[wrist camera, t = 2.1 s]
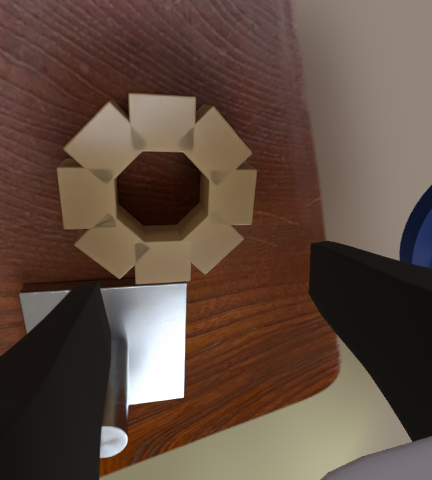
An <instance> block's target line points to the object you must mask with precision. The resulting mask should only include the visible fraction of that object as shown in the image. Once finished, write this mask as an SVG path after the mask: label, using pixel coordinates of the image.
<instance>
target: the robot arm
mask: <svg viewBox="0 0 432 480" xmlns="http://www.w3.org/2000/svg"><path fill="white" fill-rule="evenodd" d="M309 295H310V296H311V298H312V300H313V302H314V303H315V305H316V307H317V308H318V310H319V312H320V313H321V315H322V316H323V318H324V319H325V320H326V321H327V323H328V324H329V325H330V326H331V328H332V329H333V330H334V331H335V332H336V334H337V335H338V336H339V337H340V338H341V340H342V341H343V342H344V343H345V344H346V346H347V347H348V348H349V349H350V350H351V352H352V353H353V354H354V355H355V357H356V358H357V359H358V360H359V361H360V363H361V364H362V365H363V366H364V367H365V369H366V370H367V372H368V373H369V374H370V376H371V377H372V379H373V380H374V382H375V383H376V384H377V386H378V388H379V389H380V391H381V392H382V394H383V395H384V397H385V398H386V400H387V401H388V403H389V404H390V406H391V407H392V409H393V411H394V412H395V414H396V415H397V417H398V419H399V420H400V422H401V424H402V425H403V427H404V428H405V430H406V431H407V433H408V435H409V437H410V438H411V440H412V442H411V443H407V444H404V445H400V446H397V447H393V448H390V449H387V450H383V451H380V452H376V453H373V454H370V455H366V456H362V457H360V458H358V459H356V460H354V461H352V462H350V463H347V464H346V465H343V466H341V467H339V468H337V469H335V470H333V471H331V472H328V473H327V474H326V475H325V476H324V477H323V478H322V479H321V480H432V268H426V267H422V266H417V265H413V264H410V263H406V262H402V261H398V260H394V259H390V258H387V257H384V256H380V255H377V254H374V253H370V252H367V251H364V250H361V249H357V248H354V247H351V246H347V245H343V244H340V243H336V242H331V241H324V242H318V243H312V244H311V254H310V278H309ZM110 366H111V330H110V326H109V322H108V318H107V314H106V310H105V306H104V302H103V298H102V294H101V290H100V286H99V282H98V280H96V281H90V282H84V283H78V284H77V285H76V286H75V287H74V288H73V289H72V290H71V291H70V292H69V293H68V294H67V295H66V296H65V297H64V298H63V299H62V300H61V301H60V302H59V303H58V304H57V305H56V306H55V307H54V309H53V310H52V311H51V312H50V313H49V314H48V315H47V316H46V317H45V318H44V319H43V320H42V321H40V322H39V323H38V324H37V325H36V326H35V327H34V328H33V329H32V330H31V331H30V332H29V333H28V334H26V335H25V336H24V337H23V338H22V339H21V340H20V341H19V342H18V343H16V344H15V345H14V346H13V347H12V348H10V349H9V350H8V351H7V352H5V353H4V354H3V355H2V356H0V480H99V471H100V443H101V432H102V423H103V416H104V409H105V402H106V395H107V388H108V381H109V373H110Z"/></svg>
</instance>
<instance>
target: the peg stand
mask: <svg viewBox="0 0 432 480" xmlns="http://www.w3.org/2000/svg"><path fill="white" fill-rule="evenodd" d="M84 282H90V281H79V282H62V283H44V284H27V285H23V287H22V289H21V290H20V292H19V298H20V304H21V309H22V314H23V319H24V325H25V330H26V334H28V333H29V332H30V331H31V330H32V329H33V328H34V327H35V326H36V325H37V324H38V323H39V322H40V321H42V320H43V319H44V318H45V317H46V316H47V315H48V314H49V313H50V312H51V311H52V310H53V309H54V307H55V306H56V305H57V304H58V303H59V302H60V301H61V300H62V299H63V298H64V297H65V296H66V295H67V294H68V293H69V292H70V291H71V290H72V289H73V288H74V287H75V286H76V285H77V284H78V283H84ZM98 282H99V286H100V290H101V294H102V298H103V302H104V306H105V310H106V314H107V318H108V322H109V326H110V330H111V366H110V373H109V381H108V388H107V395H106V402H105V409H104V416H103V423H102V432H101V443H100V458H106V457H110V456H113V455H116V454H118V453H119V452H121V451H122V450H123V449H124V448H125V446H126V444H127V442H128V405H133V404H140V403H147V402H155V401H162V400H169V399H177V398H183V397H184V386H185V349H186V312H187V281H183V282H166V283H150V284H135V278H132V279H114V280H98Z"/></svg>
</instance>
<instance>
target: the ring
mask: <svg viewBox="0 0 432 480" xmlns="http://www.w3.org/2000/svg"><path fill="white" fill-rule="evenodd" d="M128 105H129V116H128V115H127V114H126V113H125V112H124V111H123V110H122V109H121V108H120V107H119V106H118V105H117V103H116V102H115V101H114V100H110V101H108V102H107V103H106V104H105V105H104V106H103V107H102V108H101V109H100V110H99V111H98V112H97V113H96V114H95V115H94V116H93V117H92V118H91V119H90V120H89V121H88V122H87V123H86V124H85V125H84V127H83V128H82V129H81V130H80V131H79V132H78V133H77V134H76V135H75V136H74V137H73V138H72V139H71V140H70V141H69V142H68V143H67V144H66V145H65V146H64V148H63V149H64V151H65V152H67V153H68V154H69V155H70V156H71V157H72V158H66V159H65V160H64V161H63V162H62V163H61V164H60V165H59V166H58V167H57V168H56V169H57V177H58V186H59V194H60V202H61V210H62V219H63V227H64V229H79V232H78V234H77V237H76V240H75V242H74V245H75V246H76V247H77V248H79V249H80V250H81V251H83V252H84V253H85V254H87V255H88V256H89V257H91V258H92V259H93V260H95V261H96V262H97V263H99V264H100V265H101V266H103V267H104V268H105V269H107V270H108V271H109V272H111V273H112V274H113V275H115V276H116V277H117V278H119V279H120V278H122V277H123V276H124V275H125V274H126V273H127V272H128V271H129V270H130V269H131V268H132V267H133V266H134V265H135V284H150V283H166V282H183V281H190V280H191V263H192V264H193V265H194V266H196V267H197V268H198V269H199V270H200V271H201V272H202V273H203V274H207V273H208V272H209V271H210V270H211V269H212V268H213V267H214V266H215V265H216V264H217V263H219V262H220V261H221V260H222V259H223V258H224V257H225V256H226V255H227V254H228V253H229V252H230V251H232V250H233V249H234V248H235V247H236V246H237V245H238V244H239V243H240V242H241V241H242V240H244V237H243V236H242V235H241V234H240V232H239V231H238V230H237V228H236V227H235V226H234V225H251V224H252V216H253V206H254V196H255V186H256V176H257V170H256V169H255V168H253V167H252V166H250V165H248V164H247V163H245V162H244V161H245V160H246V159H247V158H248V157H249V156H250V155H251V154H252V152H251V151H250V150H249V148H248V147H247V146H246V145H245V143H244V142H243V141H242V140H241V139H240V137H239V136H238V135H237V134H236V132H235V131H234V130H233V129H232V128H231V126H230V125H229V124H228V123H227V122H226V120H225V119H224V118H223V117H222V115H221V114H220V113H219V112H218V111H217V109H216V108H215V107H214V106H211V105H205V104H203V105H202V106H201V107H200V108H199V109H198V110H197V111H196V97H195V96H180V95H163V94H146V93H128ZM142 151H155V152H183V153H184V154H185V155H186V156H187V157H188V158H189V159H190V160H191V161H192V162H193V163H194V164H195V166H196V167H197V168H198V169H199V170H200V171H201V174H200V200H199V203H198V204H197V205H196V206H195V207H194V208H193V209H192V210H191V211H190V212H189V213H188V214H187V215H186V216H185V217H184V218H183V219H182V220H181V221H180V222H179V223H178V224H176V225H142V224H141V223H140V222H139V221H138V220H136V219H135V218H134V217H133V216H132V215H131V214H130V213H128V212H127V211H126V210H125V209H124V208H123V207H122V206H120V205H119V204H118V189H117V176H118V175H119V174H120V173H121V172H122V171H123V170H124V169H125V168H126V167H127V166H128V165H129V164H130V163H131V162H132V161H133V160H134V159H135V158H136V157H137V156H138V155H139V154H140V153H141V152H142Z"/></svg>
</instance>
